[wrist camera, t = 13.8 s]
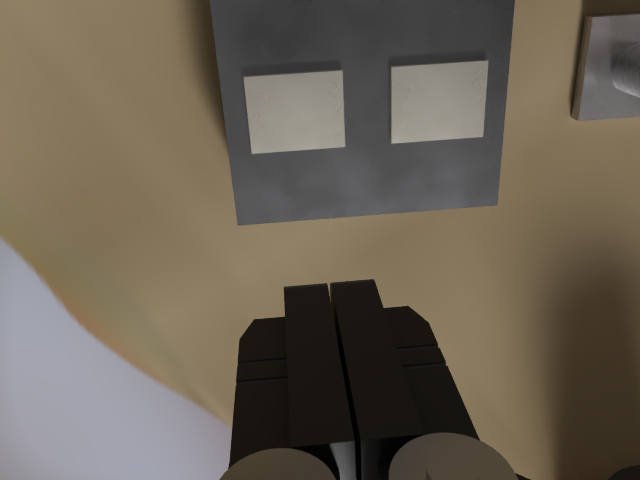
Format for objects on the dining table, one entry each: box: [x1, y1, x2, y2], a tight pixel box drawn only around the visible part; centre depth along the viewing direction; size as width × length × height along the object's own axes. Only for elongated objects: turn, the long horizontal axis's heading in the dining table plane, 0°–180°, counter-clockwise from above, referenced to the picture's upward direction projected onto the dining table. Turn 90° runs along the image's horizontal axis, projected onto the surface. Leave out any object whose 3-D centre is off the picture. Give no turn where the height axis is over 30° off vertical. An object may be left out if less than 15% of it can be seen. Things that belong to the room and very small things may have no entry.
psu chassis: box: [209, 0, 515, 225], centre depth 27 cm, size 12×10×5 cm
